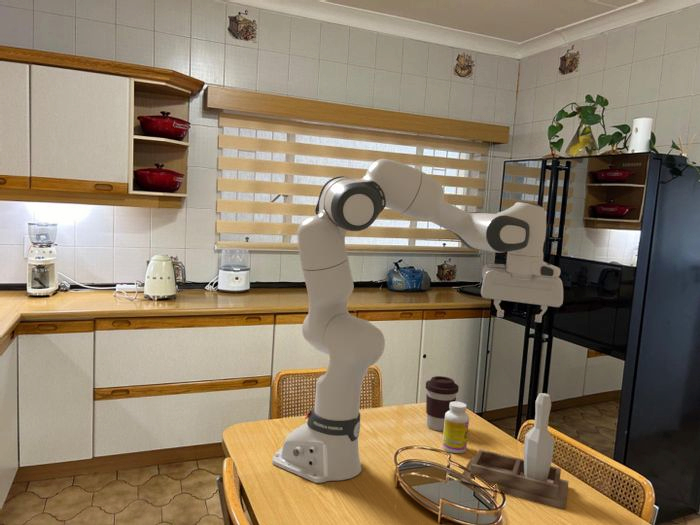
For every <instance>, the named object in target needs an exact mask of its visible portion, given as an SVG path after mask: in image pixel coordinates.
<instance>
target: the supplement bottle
mask: <svg viewBox="0 0 700 525" xmlns="http://www.w3.org/2000/svg"><path fill="white" fill-rule="evenodd" d="M449 408H450V410H449V411H447V412H446V414H445V421H444V431H442V445H441V446H442V448H443V449H444V450H445V451H446V452H448V453H453V454H462V453H463V454H464V453H465V452H466V451H467V445H468V434H469V423H470V417H469V414H468V413H467V412H466V411H467V404H466V403H465V402H461V401H454V402H450V405H449Z"/></svg>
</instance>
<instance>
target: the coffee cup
mask: <svg viewBox="0 0 700 525" xmlns="http://www.w3.org/2000/svg"><path fill="white" fill-rule="evenodd" d="M459 388H460V386H459V385H458V384H457V383H456V382H455V380H454V379H452V378H451V377H447V376H442V375H438V376H432V377H430V379H429V380H427V381H426V382H425V389H426V391H427V393H426V395H425V396H426V397H425V398H426V401H425V402H426V406H425V408H426V410H425V411H426V426H427V428H429V429H431V430H433V431H436V432H437V431H438V432H444V421H445V414H446V412H447V411H449V410H450V408H449V405H450V402H454V401H456V400H457V397H456V395H457V394H458V392H459ZM456 402H457V401H456Z"/></svg>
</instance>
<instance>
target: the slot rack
mask: <svg viewBox="0 0 700 525" xmlns="http://www.w3.org/2000/svg"><path fill="white" fill-rule="evenodd" d="M465 468H467V469H468V470H470V471H471V472H470V473H469V472H467V471H465V469H464V470H463V472H462V473H461V475H464V476H465V477H466V478H469V479H474V480H475V477H474V475H473V474H475V475H478V476H479V477H481V478H482V479H484V480H485V481H486V482H488V483H489V484H490V485H492V486H494V485H495V484H496V483H497V484H498V486H499V487H500V488H501V490H502V491H503V492H504V493H503V494H505V495H508V496H509V495H510V496H513V497H516V498H520V499H524V500H527V501H528V500H529V501H531V502H536V503H539V504H543V505H547V506H550V507H555V508H558V509H563V510H566V506H567V498H568V497H567V496H568V490H569V480H566V479H563V478H561V471H562V468H561V467H557V466H553V465H551V466H550V470H549V474H548V478H547V482H544V481H540V480H536V479H532V478H528V477H524V458H518V457H515V456H514V457H513V456H510V455H505V454H501V453H497V452H494V451H490V450H485V449H481V448H479V449H478V451H477V453H476V455H475V457H471V458H470V459H469V461H468V463H467V464H466V467H465Z"/></svg>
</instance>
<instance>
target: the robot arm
mask: <svg viewBox="0 0 700 525" xmlns="http://www.w3.org/2000/svg"><path fill="white" fill-rule="evenodd" d="M444 198H445V192H444V188H443V184H441V183H440V182H439V181H438V180H437V179H435V178H434V177H432V176H431V175H429V174H427V173H426V172H424V171H422V170H420V169H417V168H415V167H413V166H410V165H408V164H406V163H402V162H399V161H397V160H393V159H388V158H380V159H377V160H376V161H374V162H373V163H372V164H370V166H369V167H368V168H367V170H366V172H365V175H363V177H361V178H360V179H355V178H352V177H348V176H336V177H335V176H334V177H332V178H331V179H329V180H328V181H326V182H325V184H324V185H323V186H322V188H321V190H320V192H319V195H318V200H317V204H316V207H315V214H316V215H312V216H310V217H307V218H306V219H303V221H301V223H299V226H298V228H297V246H298V254H299V260H300V265H301V268H302V274H303V278H304V282H305V286H306V291H307V297H308V312H307V313H308V314H306V317H305V318H304V320H303V323H302V327H301V329H302V336H303V338H304V339H305V340H306V342H307V343H308V344H310V346H312V348H314V349H316V350H317V351H320V352H321V353H324V354H326V355H328V356H329V364H328V367H327V370H326V372H325V373H323V374H321V375H320V376H319V377H318V378H317V380H316V382H315V384H316V385H315V398H314V399H315V401H314V406H313V407H312V408H311V409H309V410H308V412H307V413H305V414H304V416H305V417H304V420H306V419H307V421H306V422H305V423H303V424H302V425H300V426H298V427H297V428H295V429H294V430H292V431H291V432H289V434H288V435H287V436H286V438H285V439H284V441H283V444H282V447H281V448H279V449H278V450H277V451H276V452H274V455H273V456H272V461H271V462H272V464H273V465H275V466H276V467H279V468H281V469H283V470H286V471H288V472H289V473H290V472H291V473H292V474H295V475H297V476H299V477H302V478H304V479H306V480H309V481H311V482H313V483H316V484H322V483H324V482H331V481H345V480H349V479H352V478H354V477H356V476H358V475H359V474H360V473H361V472H362V465H361V458H360V452H359V436H360V430H361V413H360V404H361V403H360V402H361V393H362V386H363V383H364V382H363V381H364V379H365V376H366V374H367V372H368V370H369V369H370V367H372V366H373V365H375V364H376V363H378V361H379V360H380V359H381V358H382V356H383V354H384V351H385V348H386V346H385V345H386V341H385V336H384V333H383V332H382V331H381V329H379V328H378V327H377V326H376V325H374V324H373V323H371V322H370V321H368V320H367V319H364V318H361V317H357V316H354V315H352V314H350V312H349V309H348V298H349V296H351V295H352V293H353V292H354V287H355V286H354V280H353V276H352V270H351V266H350V261H349V258H348V257H349V256H348V252H347V248H346V234H347V231H349V232H360V231H364V230H366V229H368V228H369V227H370V226H372V224H374V223H375V221H376V219H378V216H379V215H380V214H381V212H383V210H384V209H385V208H387V209H390V210H391V211H393V212H396V213H399V215H402V216H404V217H407V218H410V219H414V220H418V221H420V222H421V221H422V222H431V223H433V224H435V225H437V226H438V227H441V228H443V229H445V230H447V231H449V232H451V233H453V235H455V236H456V237H457V238H458V240H460V242H461V243H462V245H464V246H465V247H466V248H468V249H471V250H473V251H474V250H476V251H485V252H491V253H500V254H501V253H507V254H506V263H494V262H489V263H488V264H485V265H484V266H483V267H482V272H481V275H482V276H481V277H482V278H483V280H482V285H481V288H480V295H481V297H482V299H483V298H484V299H489V300H493V305H494V306H495V309H496V310H497V312H496V317H497V318H504V315H505V314H504V313H505V310H504V309H502V308H501V306H500V304H501V302H502V301H507V302H513V303H515V302H516V303H522V304H529V305H530V304H531V305H539V306H540V310H541V312H540V313H539V314H535V316H534V318H535V319H534V323H542V320H543V319H542V318H543V315H544V314H545V313H546V312H547V310H548V307H553V308H560V307H561V306H562V305H563V302H564V285H563V281H562V279H561V278H560V275H561V272H562V271H561V268H560V267H558V266H555V265H553V264H551V263H549V262H546V261H544V251H543V249H544V248H543V247H544V244H545V241H546V235H547V215H546V214H547V213H546V211H545V208H544V207H542V206H541V205H539V204H536V203H532V202H527V201H516V202H515V203H514V205H512V206H510V207H509V208H507V209H505V210H502V211H499V212H497V213H488V212H487V213H486V212H480V211H479V212H478V211H475V212H474V211H472V212H471V211H470V212H469V211H464V210H462V209H461V208H459V207H458V206H455V205H453V204H452V203H449V202H448V201H446V200H444Z"/></svg>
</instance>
